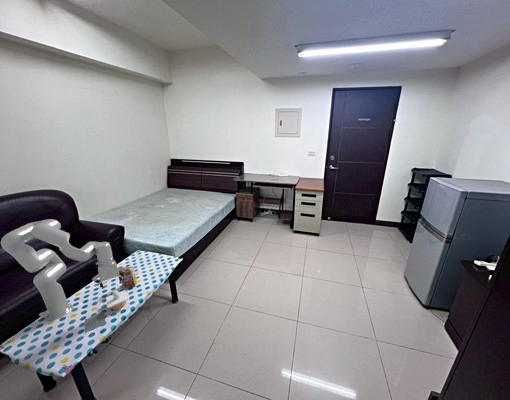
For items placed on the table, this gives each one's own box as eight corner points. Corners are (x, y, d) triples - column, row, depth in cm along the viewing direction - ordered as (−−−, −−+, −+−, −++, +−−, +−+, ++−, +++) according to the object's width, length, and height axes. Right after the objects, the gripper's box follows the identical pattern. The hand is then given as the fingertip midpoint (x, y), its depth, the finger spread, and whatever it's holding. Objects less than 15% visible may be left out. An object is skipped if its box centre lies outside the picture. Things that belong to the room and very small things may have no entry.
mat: (85, 334, 123) (84, 333, 123) (85, 320, 133) (85, 319, 133) (105, 324, 129) (105, 323, 129) (104, 312, 138) (104, 311, 138)
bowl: (111, 312, 138) (110, 306, 136) (110, 304, 144) (108, 298, 143) (127, 305, 143) (125, 299, 141) (125, 298, 149) (123, 292, 148)
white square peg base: (107, 308, 135) (105, 300, 133) (106, 298, 143) (104, 291, 141) (127, 300, 141) (125, 292, 139) (125, 290, 149) (123, 283, 147)
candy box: (122, 288, 159) (117, 270, 154) (125, 284, 163) (120, 267, 158) (135, 286, 160) (131, 269, 155) (137, 283, 164) (133, 265, 160)
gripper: (88, 269, 125) (95, 293, 131) (123, 259, 135) (127, 282, 140) (88, 263, 131) (95, 286, 136) (121, 254, 141) (126, 276, 146)
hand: (111, 284), depth 138 cm, fingers open, 9 cm apart
